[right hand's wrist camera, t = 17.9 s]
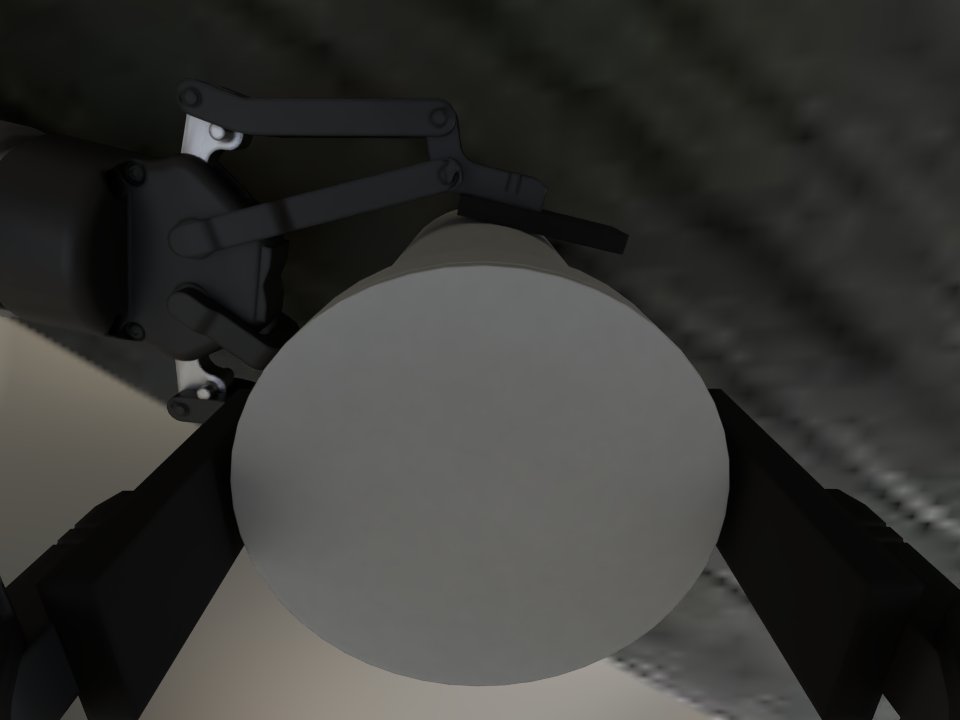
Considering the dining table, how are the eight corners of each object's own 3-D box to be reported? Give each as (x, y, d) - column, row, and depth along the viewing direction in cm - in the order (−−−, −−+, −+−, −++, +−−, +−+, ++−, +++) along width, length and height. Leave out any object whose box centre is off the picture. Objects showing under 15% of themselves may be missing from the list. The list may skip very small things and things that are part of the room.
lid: (541, 677, 15) (548, 739, 13) (199, 526, 13) (159, 577, 11) (790, 399, 12) (839, 437, 10) (388, 147, 10) (369, 145, 8)
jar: (364, 281, 28) (183, 474, 11) (490, 168, 26) (508, 187, 9) (471, 395, 31) (460, 698, 14) (594, 299, 29) (766, 513, 12)
